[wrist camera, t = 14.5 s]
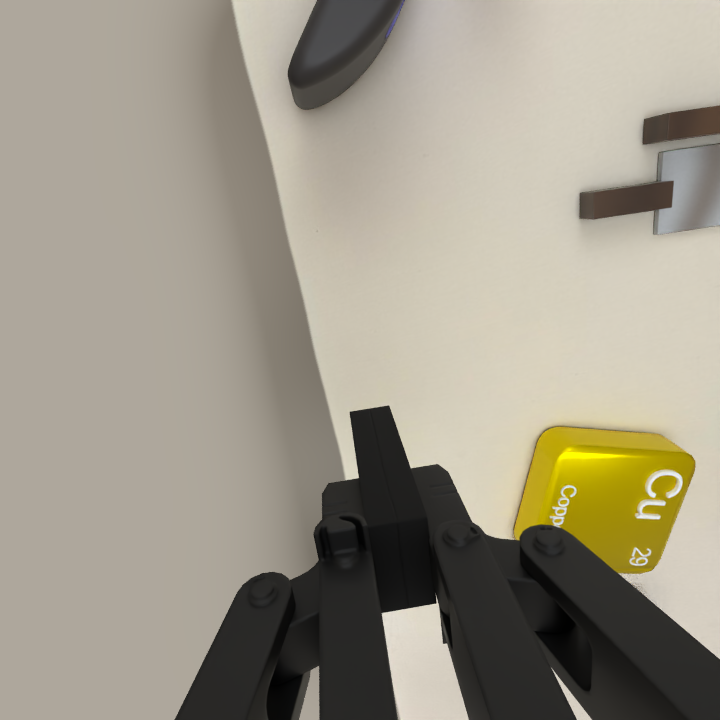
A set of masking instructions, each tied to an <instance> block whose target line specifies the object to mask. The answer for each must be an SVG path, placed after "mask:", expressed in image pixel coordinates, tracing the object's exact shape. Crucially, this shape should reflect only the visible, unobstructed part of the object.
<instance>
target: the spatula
mask: <svg viewBox="0 0 720 720" xmlns="http://www.w3.org/2000/svg"><path fill="white" fill-rule="evenodd" d="M653 210H655V219H654V233H653V234H654V235H660V234H667V233H673V232H680V231H687V230H693V229H700V228H707V227H713V226H720V144H713V145H706V146H699V147H692V148H685V149H678V150H672V151H665V152H659V161H658V175H657V182H651V183H644V184H637V185H630V186H623V187H616V188H610V189H603V190H596V191H589V192H582V193H580V218H581V219H599V218H605V217H612V216H619V215H626V214H632V213H639V212H646V211H653Z"/></svg>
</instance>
